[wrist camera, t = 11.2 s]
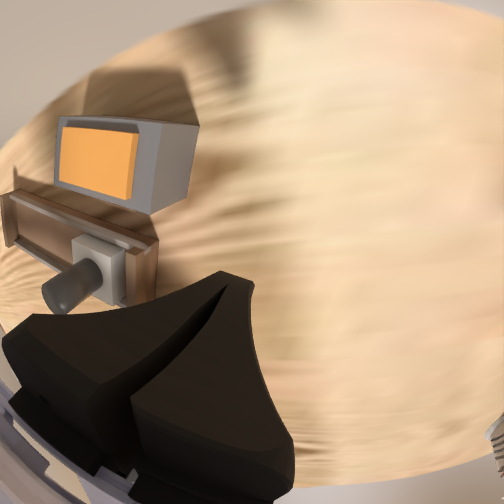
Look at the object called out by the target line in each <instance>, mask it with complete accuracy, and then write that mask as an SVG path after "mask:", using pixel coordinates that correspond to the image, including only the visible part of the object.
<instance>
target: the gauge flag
mask: <svg viewBox="0 0 504 504" xmlns="http://www.w3.org/2000/svg"><path fill="white" fill-rule="evenodd" d="M138 138H139V133H131V132H123V131H115V130H106V129H95V128H83V127H63V131H62V140H61V152H60V169H59V181H63V182H66V183H69V184H73V185H76V186H80V187H83V188H87V189H90V190H93V191H97V192H100V193H103V194H107V195H110V196H114V197H117V198H120V199H124V200H127V199H130V198H131V196H132V185H133V175H134V167H135V159H136V152H137V145H138Z"/></svg>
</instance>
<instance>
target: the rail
mask: <svg viewBox="0 0 504 504" xmlns="http://www.w3.org/2000/svg"><path fill="white" fill-rule="evenodd" d="M0 206H1V216H2V225H3V233H4V239H5V246H7V247H8V248H9V247H11V246H13V245H16V246H17V247H19V248H20V249H22V250H23V251H25V252H26V253H28V254H29V255H31V256H32V257H34V258H35V259H37V260H38V261H40V262H42V263H43V264H45V265H46V266H48V267H50V268H51V269H53V270H54V271H56V272H58V273H61V272H63V271H64V270H66V269H67V268H69V267H70V266H72V265H73V254H72V239H74V238H76V237H78V236H80V235H82V234H84V233H88V234H91V235H93V236H95V237H98V238H100V239H103V240H105V241H108V242H110V243H112V244H115V245H117V246H120V247H122V248H125V296H124V297H123V298H122V299H121V300H120V301H119V302H118V303H116V305H118V306H120V307H122V308H125V307H130V306H134V305H138V304H141V303H145V302H148V301H152V300H155V290H156V271H157V257H158V244H159V240H156V239H153V238H151V237H148V236H145V235H142V234H139V233H136V232H134V231H131V230H128V229H125V228H122V227H120V226H117V225H114V224H111V223H109V222H106V221H103V220H100V219H97V218H95V217H92V216H89V215H87V214H84V213H81V212H78V211H76V210H73V209H70V208H68V207H65V206H62V205H60V204H57V203H54V202H52V201H49V200H46V199H44V198H41V197H39V196H36V195H33V194H31V193H28V192H26V191H23V190H20V189H18V190H15V191H12V192H9V193H6V194H3V195H0Z"/></svg>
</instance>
